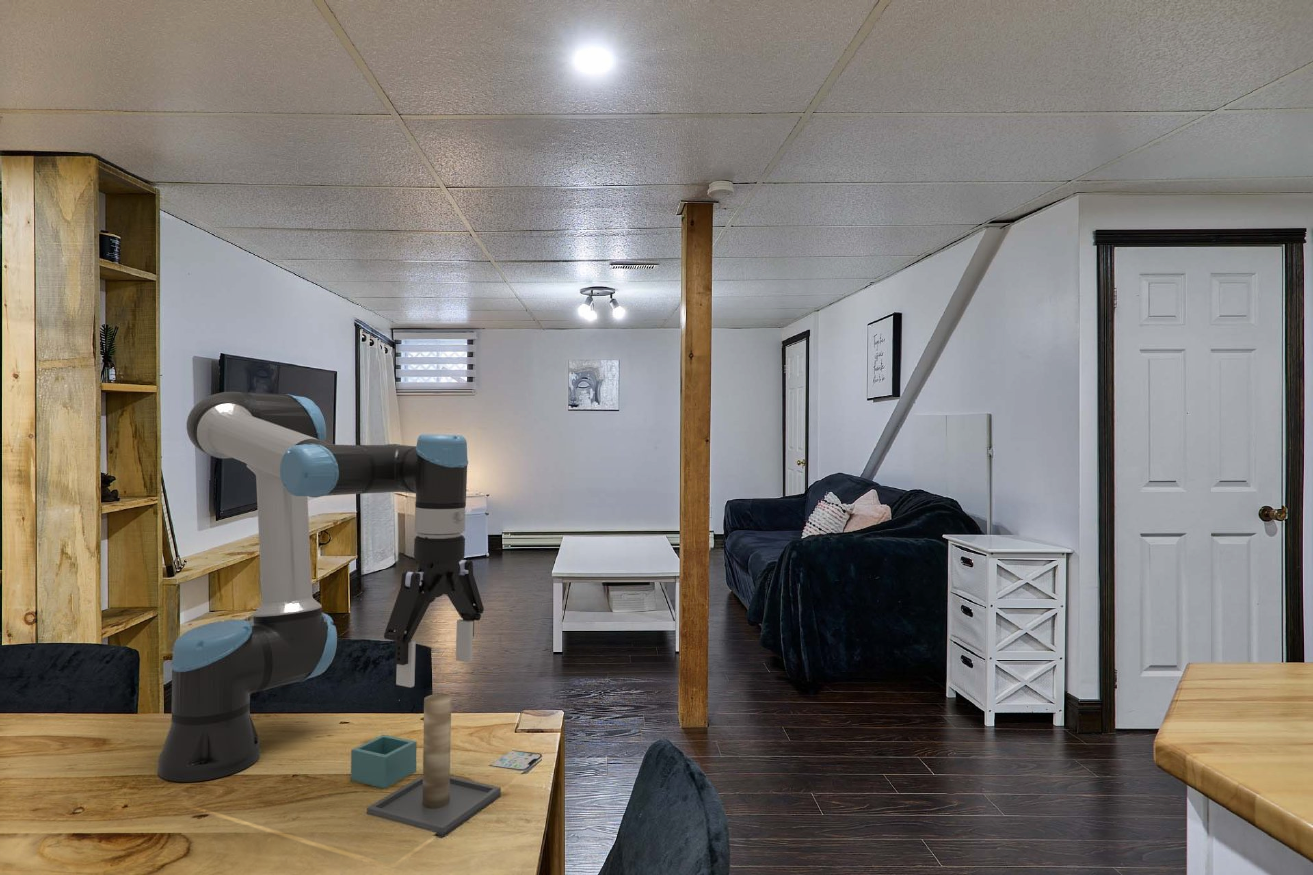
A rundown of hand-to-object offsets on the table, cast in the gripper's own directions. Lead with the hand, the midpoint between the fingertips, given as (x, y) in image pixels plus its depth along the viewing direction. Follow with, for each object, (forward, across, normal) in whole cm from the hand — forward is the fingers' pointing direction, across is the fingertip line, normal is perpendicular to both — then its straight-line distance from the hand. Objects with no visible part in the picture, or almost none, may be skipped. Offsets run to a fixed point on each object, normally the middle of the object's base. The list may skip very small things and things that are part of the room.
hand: (436, 672), depth 118 cm
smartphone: (+21, +18, +1) cm, 28 cm away
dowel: (+20, 0, -1) cm, 20 cm away
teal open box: (+21, +4, +13) cm, 25 cm away
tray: (+20, 0, -1) cm, 20 cm away
